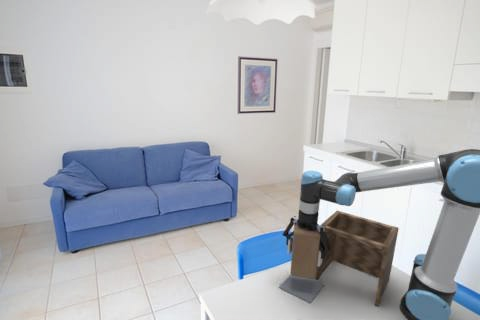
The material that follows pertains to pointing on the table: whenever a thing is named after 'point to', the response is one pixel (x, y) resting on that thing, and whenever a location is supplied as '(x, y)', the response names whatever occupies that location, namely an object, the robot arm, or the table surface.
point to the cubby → (360, 247)
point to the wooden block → (305, 252)
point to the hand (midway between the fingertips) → (304, 258)
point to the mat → (302, 287)
